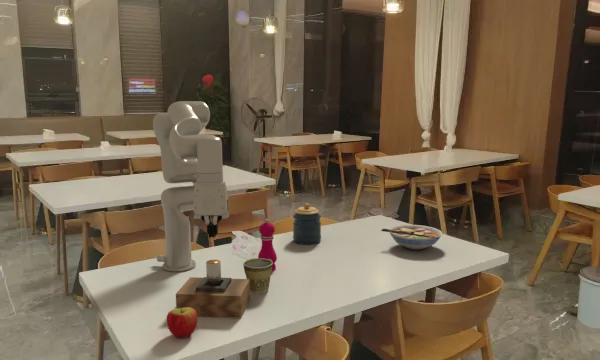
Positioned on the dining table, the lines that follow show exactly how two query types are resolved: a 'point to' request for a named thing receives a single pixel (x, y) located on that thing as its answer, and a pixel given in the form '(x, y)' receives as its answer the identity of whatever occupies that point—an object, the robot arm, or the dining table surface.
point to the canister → (306, 225)
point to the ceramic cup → (258, 274)
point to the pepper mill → (267, 242)
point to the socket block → (215, 297)
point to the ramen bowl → (414, 236)
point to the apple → (182, 321)
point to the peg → (213, 272)
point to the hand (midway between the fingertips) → (212, 236)
